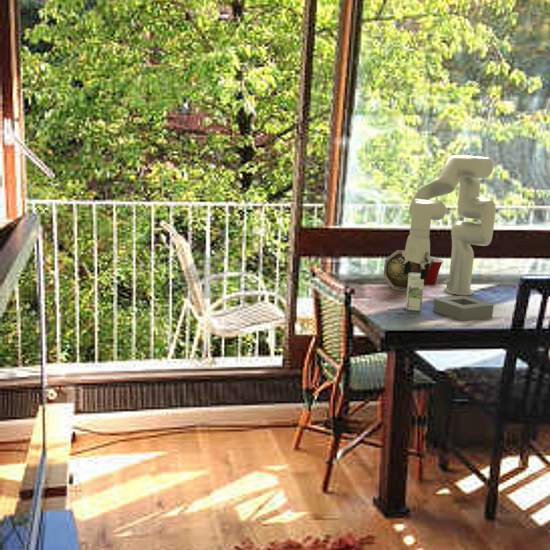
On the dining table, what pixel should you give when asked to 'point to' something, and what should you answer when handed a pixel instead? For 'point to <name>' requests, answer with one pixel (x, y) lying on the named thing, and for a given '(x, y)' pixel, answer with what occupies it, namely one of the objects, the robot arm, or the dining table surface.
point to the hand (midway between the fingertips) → (415, 276)
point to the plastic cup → (433, 271)
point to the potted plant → (398, 271)
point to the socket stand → (463, 308)
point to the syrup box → (414, 292)
